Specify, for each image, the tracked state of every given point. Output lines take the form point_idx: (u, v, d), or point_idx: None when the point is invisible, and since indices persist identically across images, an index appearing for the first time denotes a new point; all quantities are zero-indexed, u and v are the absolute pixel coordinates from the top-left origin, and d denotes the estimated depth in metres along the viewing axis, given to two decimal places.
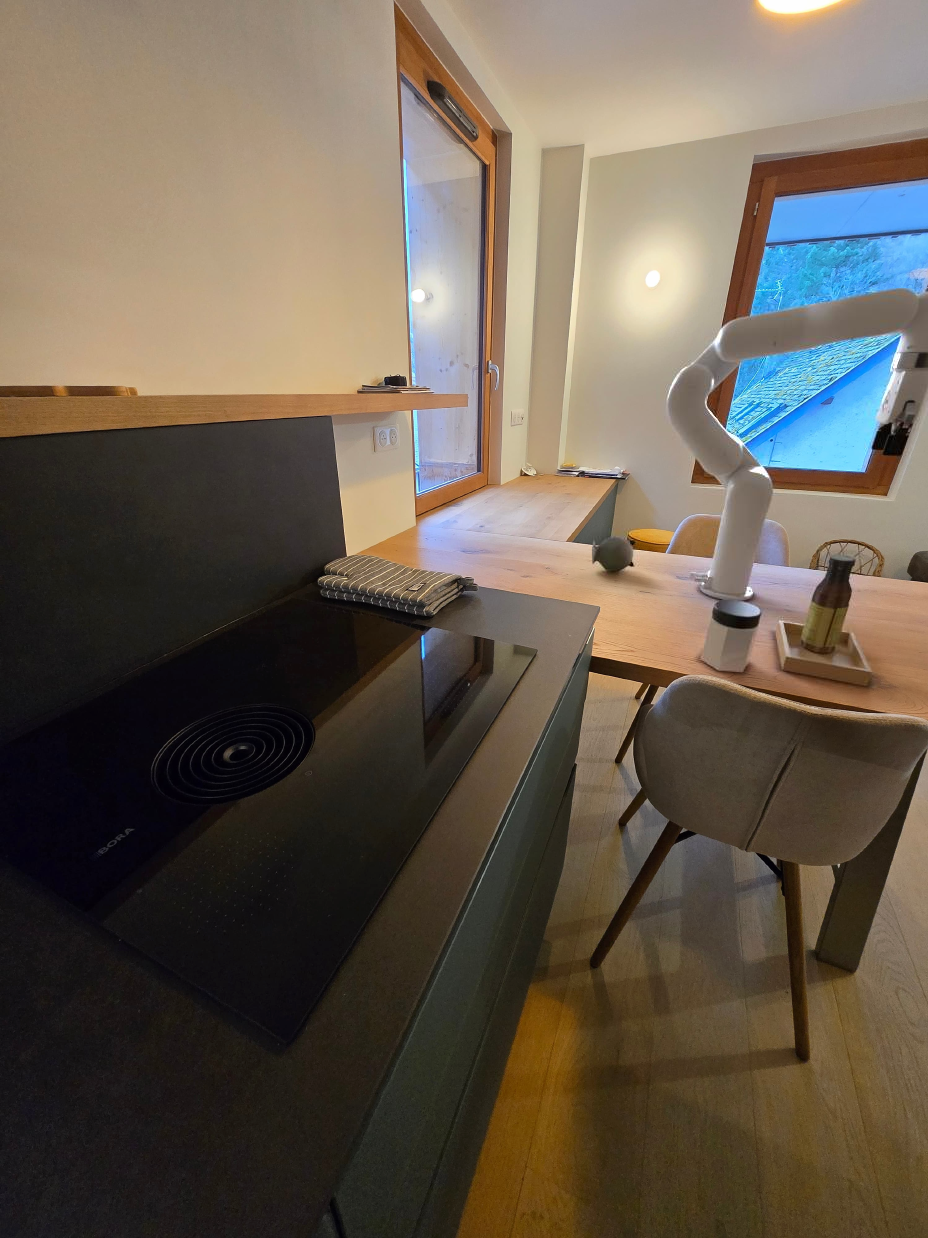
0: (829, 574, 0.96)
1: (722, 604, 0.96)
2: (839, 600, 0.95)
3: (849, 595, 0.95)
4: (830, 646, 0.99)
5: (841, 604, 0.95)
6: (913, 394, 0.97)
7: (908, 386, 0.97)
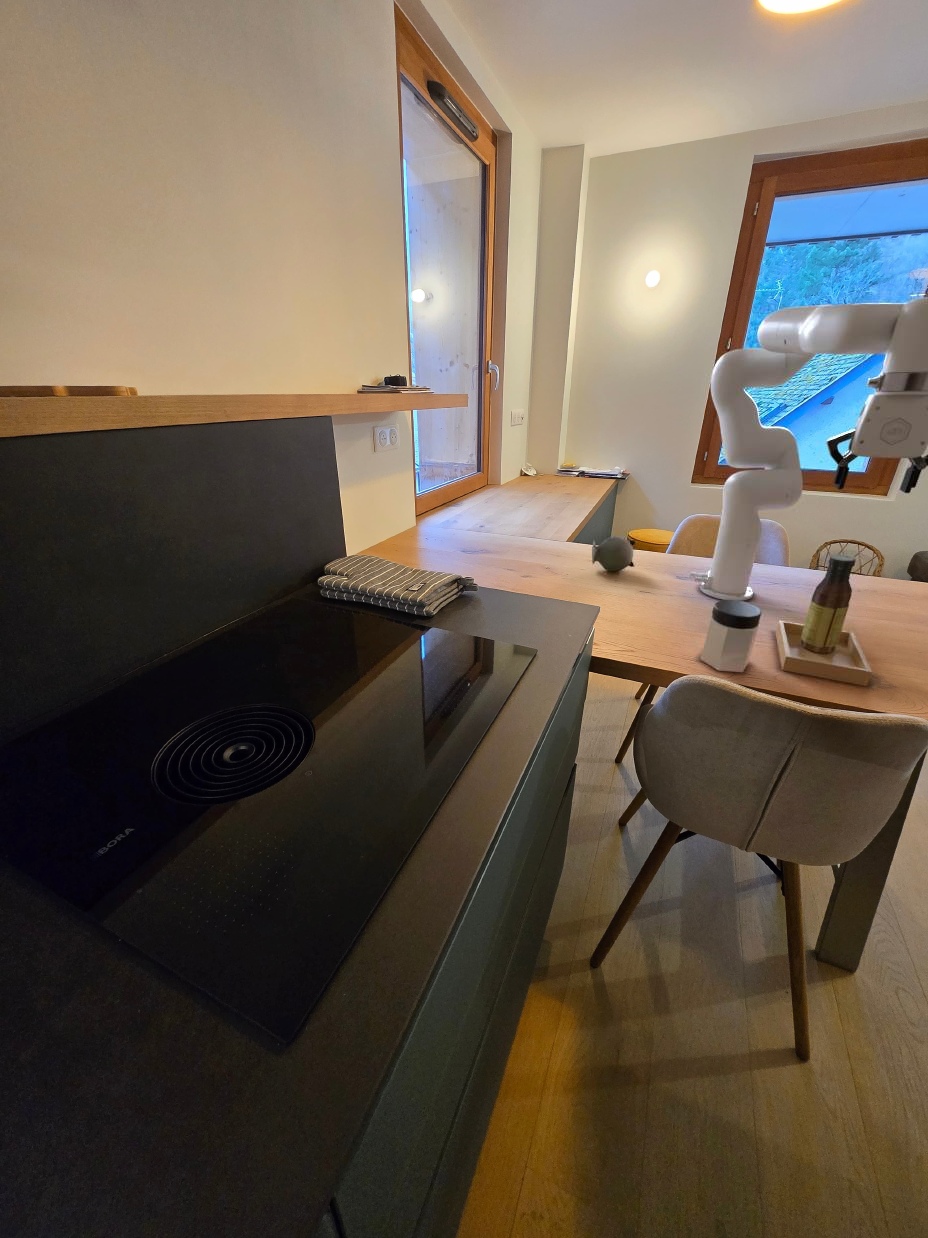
0: (829, 574, 0.96)
1: (722, 604, 0.96)
2: (839, 600, 0.95)
3: (849, 595, 0.95)
4: (830, 646, 0.99)
5: (841, 604, 0.95)
6: None
7: None
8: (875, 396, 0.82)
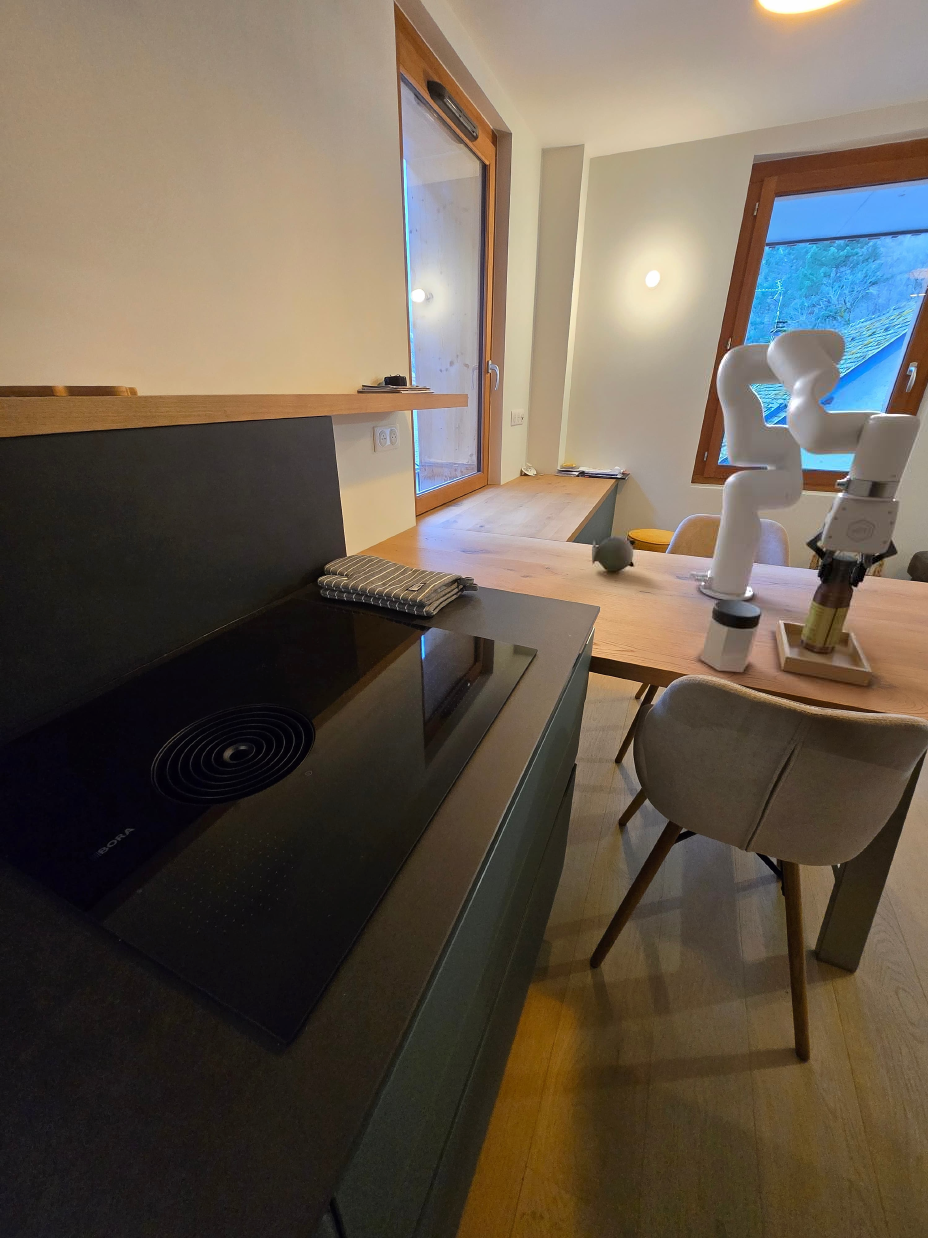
0: (831, 574, 0.95)
1: (722, 604, 0.96)
2: (841, 600, 0.95)
3: (850, 595, 0.95)
4: (830, 646, 0.99)
5: (842, 604, 0.95)
6: None
7: None
8: (842, 498, 0.89)
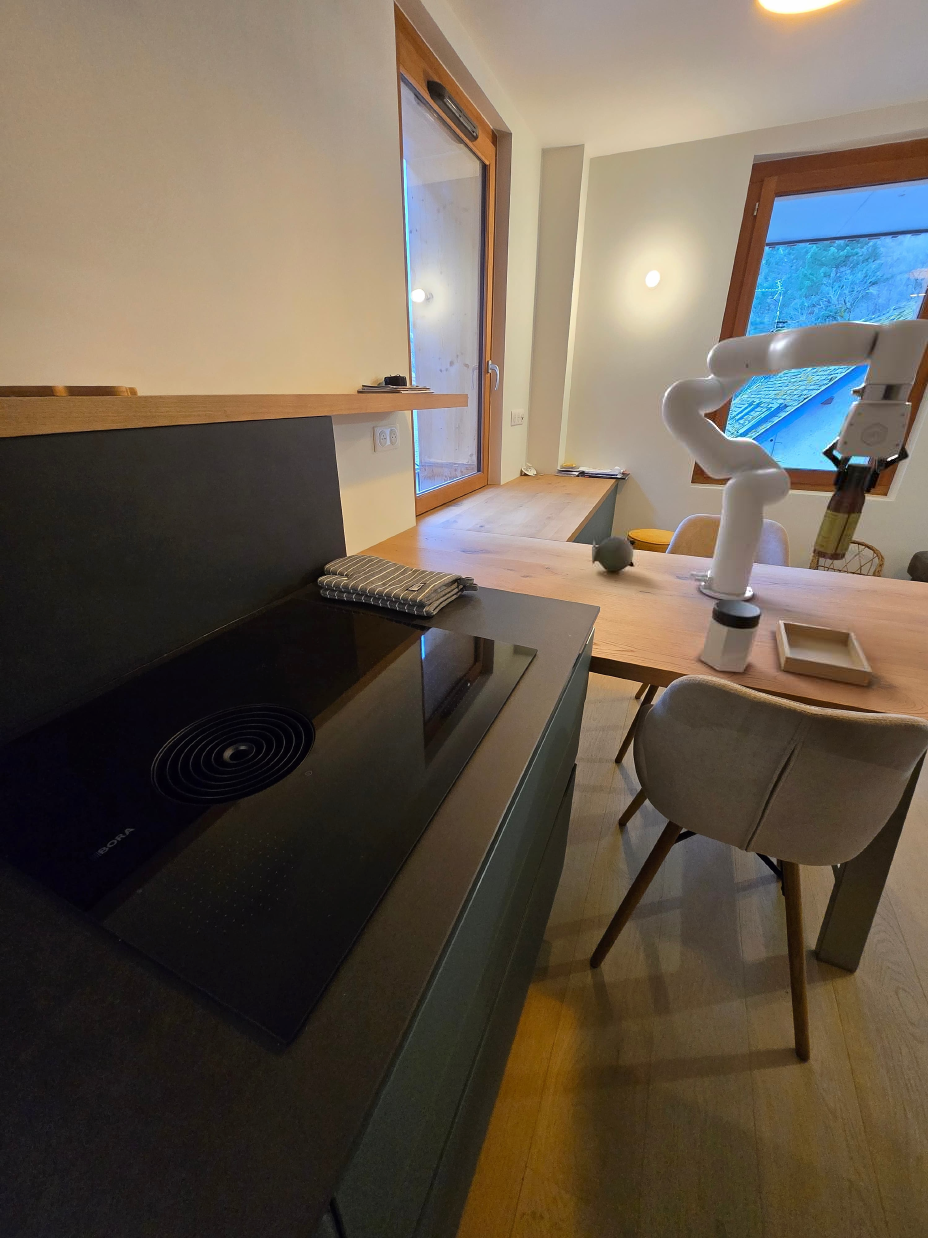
0: (845, 481, 1.02)
1: (722, 604, 0.96)
2: (853, 506, 1.01)
3: (863, 501, 1.01)
4: (841, 552, 1.06)
5: (855, 509, 1.02)
6: None
7: None
8: (857, 404, 0.95)
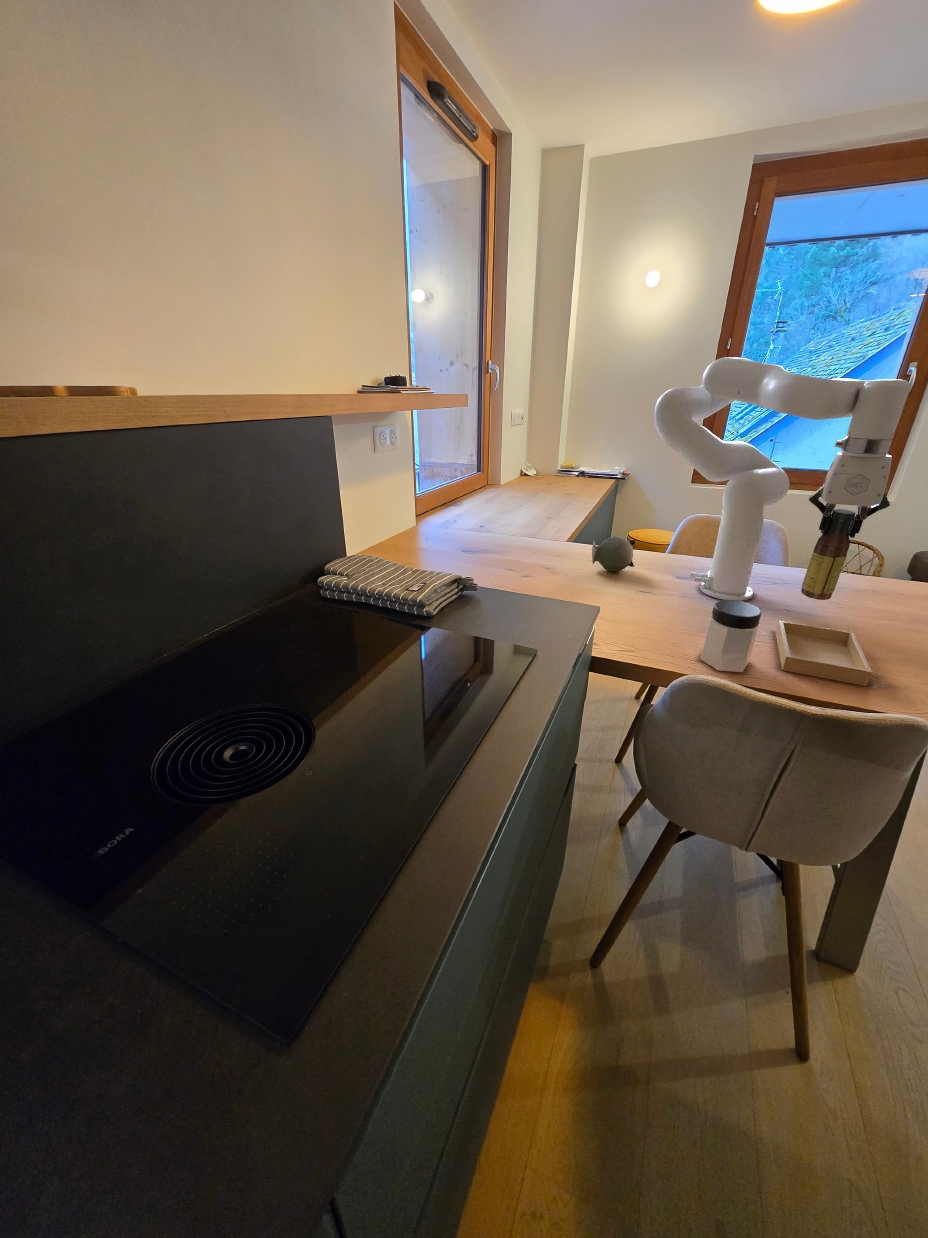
0: (831, 526, 1.06)
1: (722, 604, 0.96)
2: (839, 550, 1.06)
3: (847, 545, 1.06)
4: (828, 592, 1.10)
5: (840, 553, 1.06)
6: None
7: (889, 470, 0.99)
8: (841, 455, 1.00)
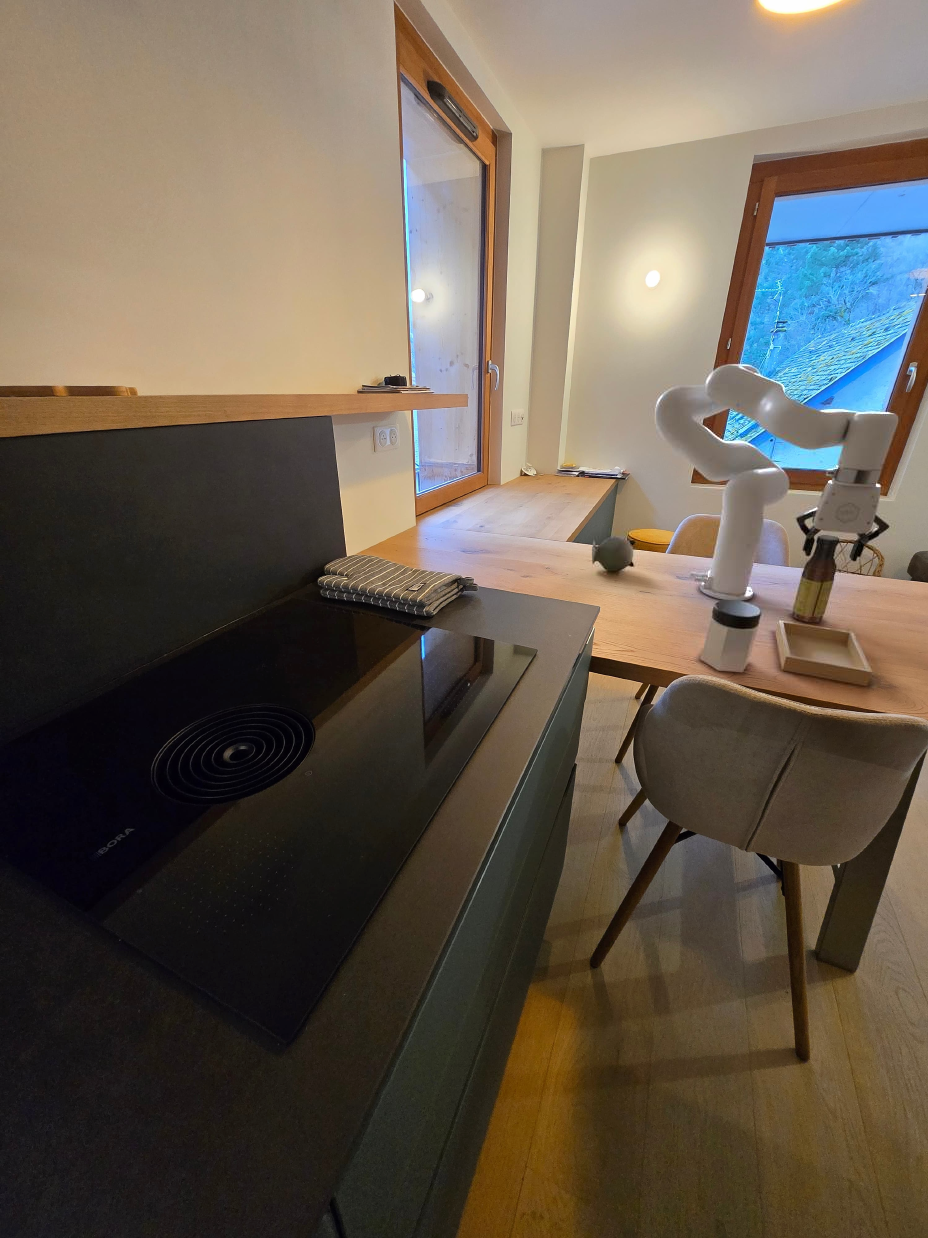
0: (816, 552, 1.10)
1: (722, 604, 0.96)
2: (825, 575, 1.09)
3: (834, 570, 1.09)
4: (818, 616, 1.13)
5: (827, 578, 1.09)
6: None
7: (878, 499, 1.01)
8: (831, 484, 1.03)
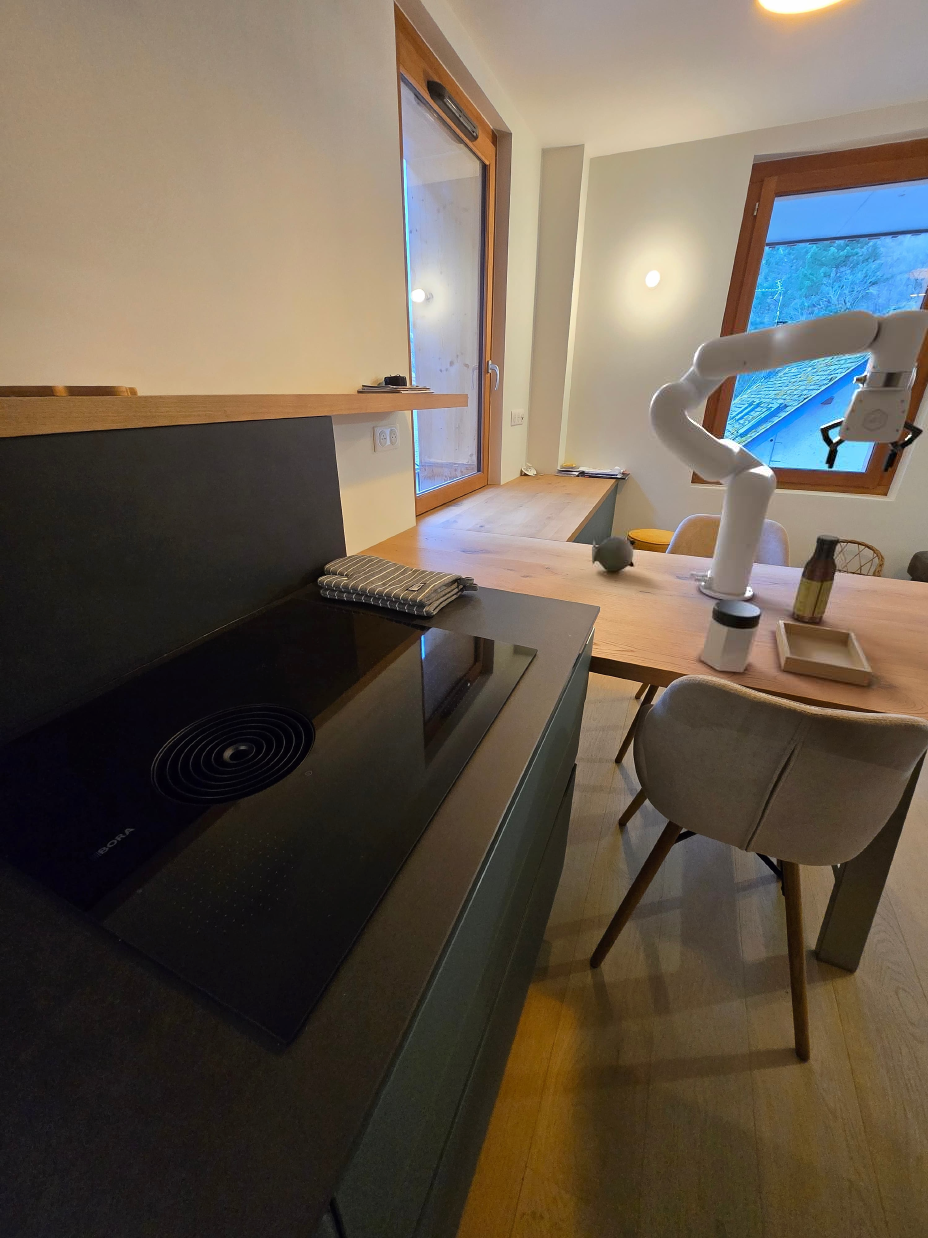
0: (816, 552, 1.10)
1: (722, 604, 0.96)
2: (825, 575, 1.09)
3: (834, 570, 1.09)
4: (818, 616, 1.13)
5: (827, 578, 1.09)
6: None
7: (908, 404, 0.98)
8: (859, 391, 1.00)
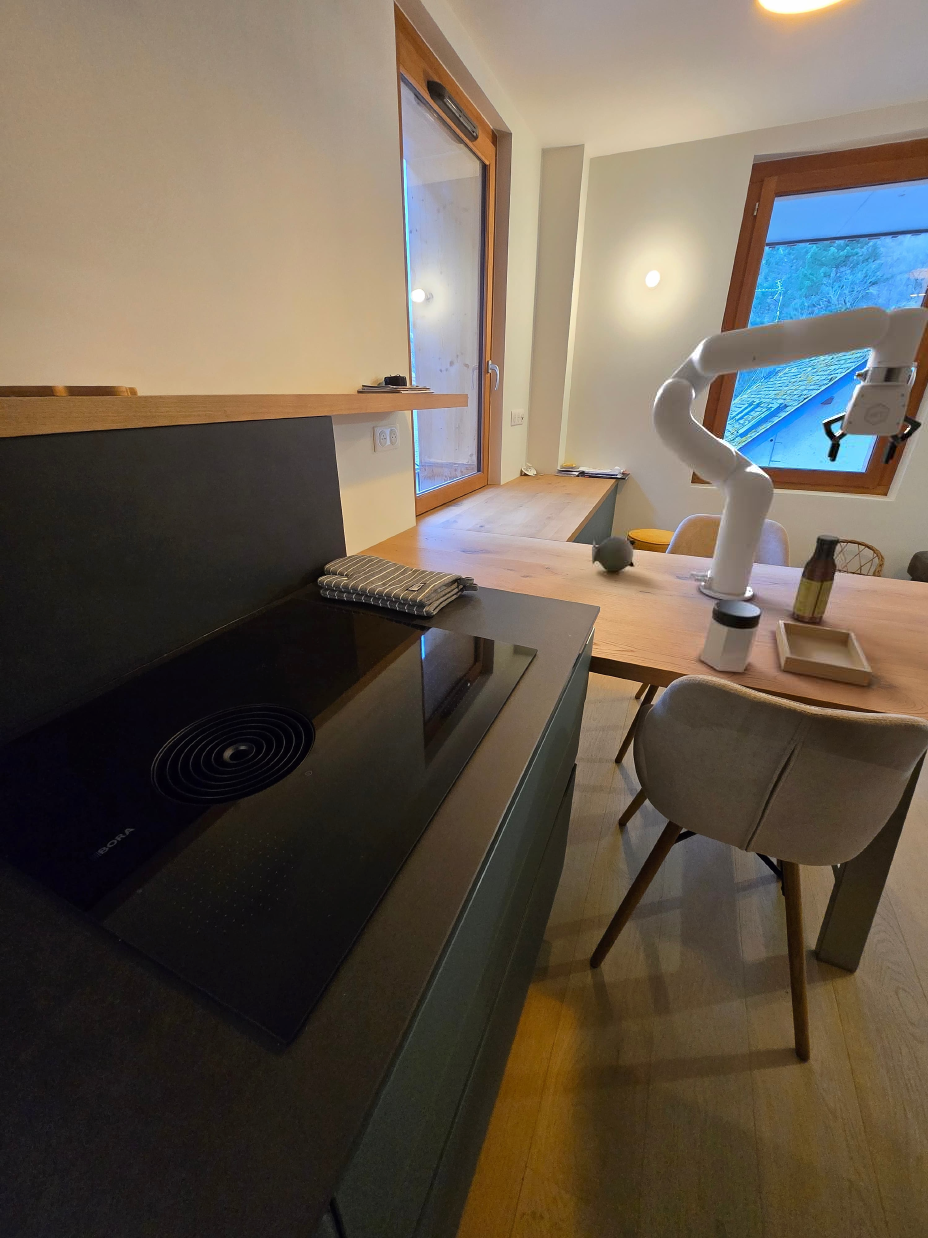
0: (816, 552, 1.10)
1: (722, 604, 0.96)
2: (825, 575, 1.09)
3: (834, 570, 1.09)
4: (818, 616, 1.13)
5: (827, 578, 1.09)
6: None
7: None
8: (861, 386, 1.04)
